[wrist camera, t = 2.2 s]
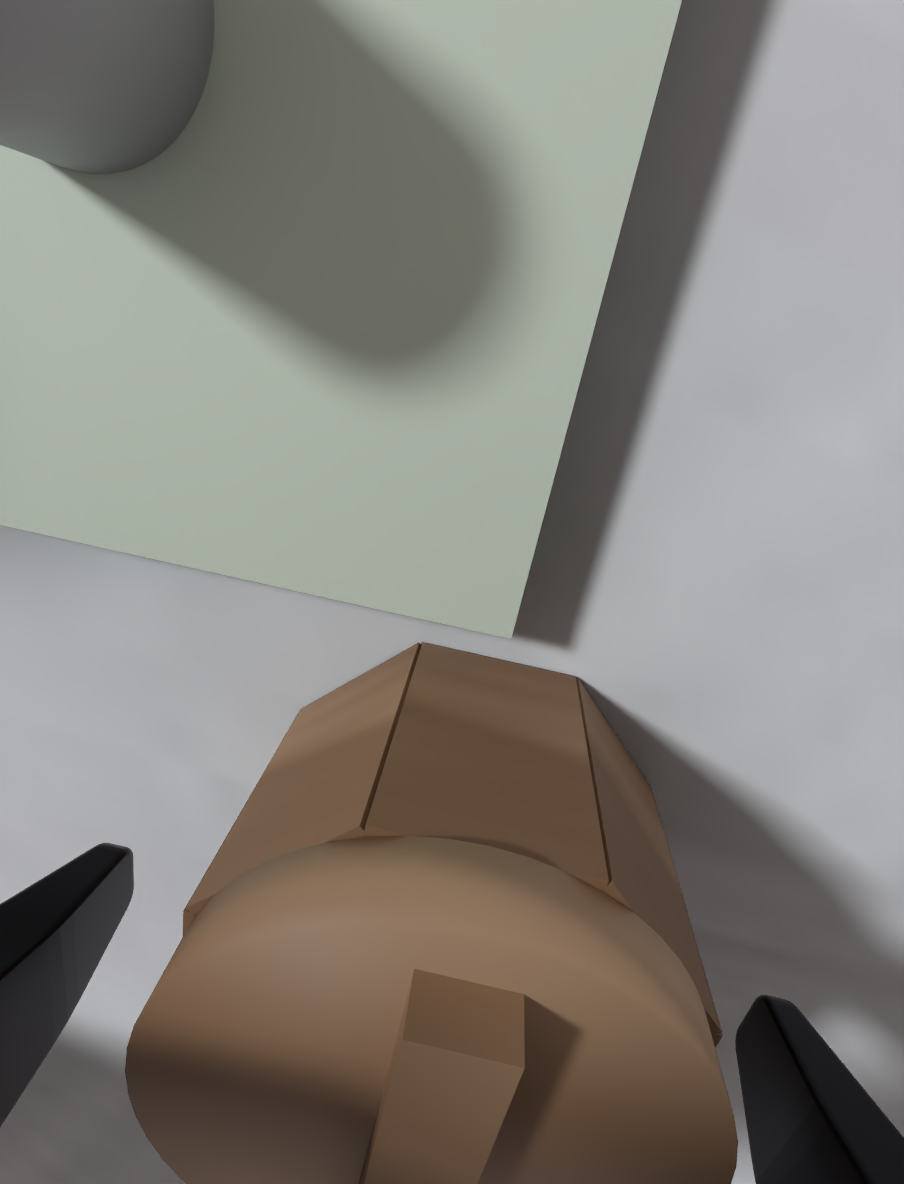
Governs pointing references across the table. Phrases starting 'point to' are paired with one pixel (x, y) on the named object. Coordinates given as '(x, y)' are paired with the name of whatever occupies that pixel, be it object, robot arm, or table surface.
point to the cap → (439, 955)
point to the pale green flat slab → (311, 279)
